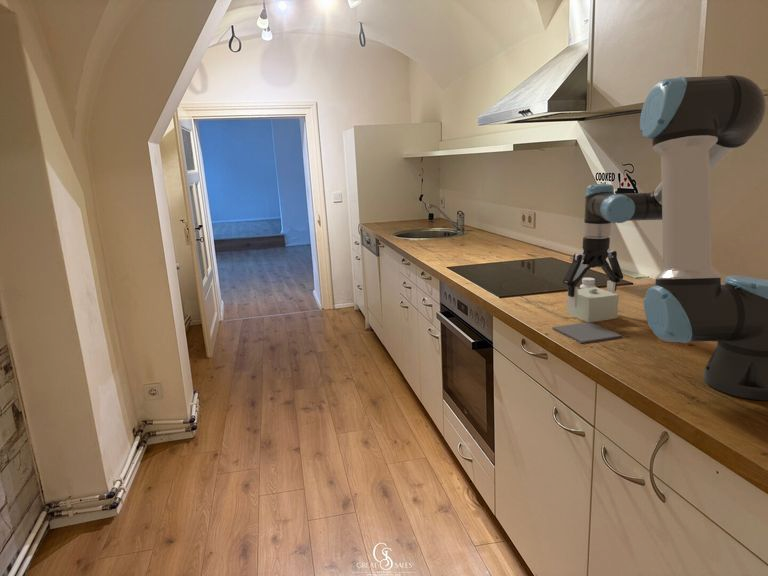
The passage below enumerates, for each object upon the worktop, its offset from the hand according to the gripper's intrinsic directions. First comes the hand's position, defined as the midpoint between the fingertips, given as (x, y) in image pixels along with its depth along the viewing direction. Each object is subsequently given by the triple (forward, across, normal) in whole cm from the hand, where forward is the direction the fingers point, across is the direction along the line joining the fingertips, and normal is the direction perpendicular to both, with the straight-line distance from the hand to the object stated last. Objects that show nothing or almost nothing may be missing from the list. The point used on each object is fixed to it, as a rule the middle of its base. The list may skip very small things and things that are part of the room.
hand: (591, 304), depth 158 cm
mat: (+4, +12, +13) cm, 18 cm away
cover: (+4, 0, 0) cm, 4 cm away
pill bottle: (+4, -7, -11) cm, 13 cm away
